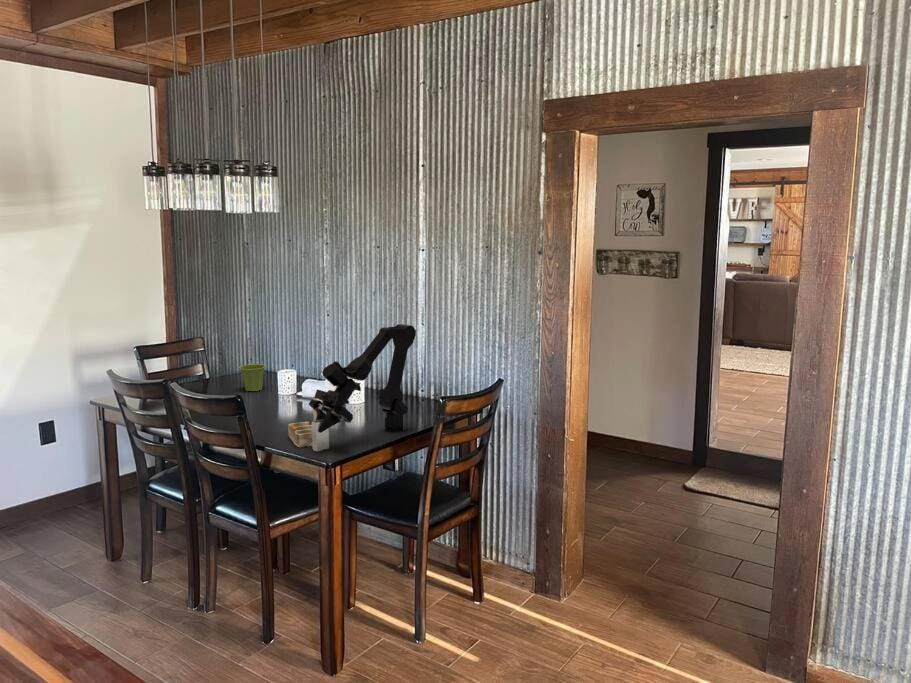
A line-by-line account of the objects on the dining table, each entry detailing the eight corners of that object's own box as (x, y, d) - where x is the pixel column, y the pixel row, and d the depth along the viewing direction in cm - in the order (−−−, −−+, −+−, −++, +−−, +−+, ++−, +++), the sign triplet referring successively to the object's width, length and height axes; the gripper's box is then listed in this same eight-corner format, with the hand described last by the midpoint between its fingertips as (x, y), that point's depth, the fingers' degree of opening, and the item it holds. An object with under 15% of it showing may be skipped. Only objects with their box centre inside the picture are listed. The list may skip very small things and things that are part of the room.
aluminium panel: (324, 446, 249) (323, 418, 247) (329, 448, 247) (328, 419, 245) (312, 450, 245) (311, 421, 244) (316, 451, 244) (315, 422, 242)
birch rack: (308, 433, 264) (308, 419, 264) (318, 445, 251) (317, 430, 250) (288, 436, 262) (287, 421, 261) (297, 447, 248) (296, 432, 247)
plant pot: (240, 388, 337) (238, 365, 335) (266, 386, 341) (265, 363, 339) (240, 394, 326) (239, 369, 324) (267, 392, 330) (266, 368, 328)
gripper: (312, 376, 252) (286, 413, 246) (344, 384, 239) (318, 423, 233) (331, 394, 258) (306, 430, 252) (364, 403, 246) (339, 441, 240)
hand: (316, 431), depth 244 cm, fingers closed on aluminium panel, 2 cm apart
